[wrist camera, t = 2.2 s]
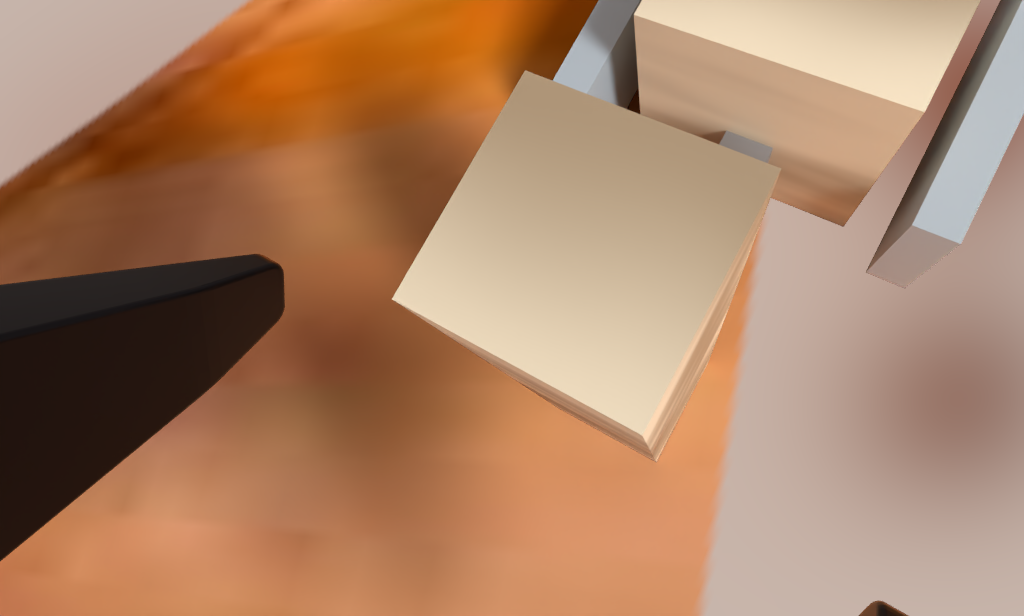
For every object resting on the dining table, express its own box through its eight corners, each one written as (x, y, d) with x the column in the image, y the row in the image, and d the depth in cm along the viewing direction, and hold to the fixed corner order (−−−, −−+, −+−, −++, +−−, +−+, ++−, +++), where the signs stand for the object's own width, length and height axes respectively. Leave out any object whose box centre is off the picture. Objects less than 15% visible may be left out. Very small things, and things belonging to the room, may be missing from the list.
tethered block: (709, 491, 17) (796, 519, 6) (512, 382, 19) (288, 243, 8) (935, 44, 19) (1349, -619, 7) (732, -18, 21) (816, -626, 9)
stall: (904, 288, 17) (960, 244, 14) (568, 148, 20) (549, 85, 17) (1057, -25, 18) (1142, -135, 15) (716, -114, 22) (725, -221, 18)
